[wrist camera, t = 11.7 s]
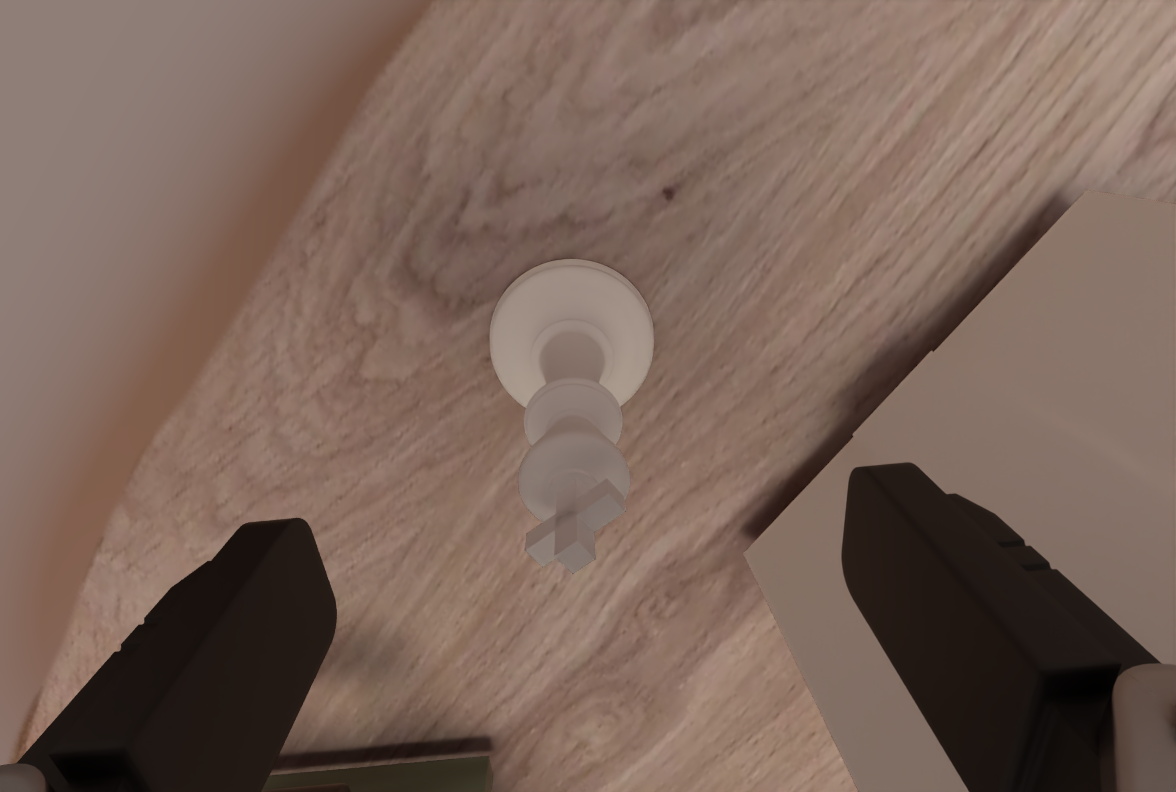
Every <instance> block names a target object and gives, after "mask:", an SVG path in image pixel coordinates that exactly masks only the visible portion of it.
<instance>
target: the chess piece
mask: <svg viewBox="0 0 1176 792" xmlns="http://www.w3.org/2000/svg"><path fill="white" fill-rule="evenodd" d="M489 341H490V354H491V359H492V363H493V367H494V369H495V372H496V374H497V376H498V378H499V380H500V382H501V384H502V385H503V387H504V388H505V389H506V391H507V392H508V393H509V394H510V395H511V396H512V397H513V398H514V399H515V400H516V401H517V402H518V403H519V404H521V405H522V406H524V407H525V408H526V410H525V414H524V430H525V434H526V437H527V439H528V441H529V443H530V445H531V448H530V449H529V451H528V452H527V454H526V455H525V457H524V459H523V461H522V463H521V466H520V469H519V473H518V489H519V493H520V496H521V499H522V501H523V503H524V504H525V506H526V507H527V509H528V510H529V511H530V512H531V513H532V514H533V515H534V516H535V517H536V518H537V519H539V520H540V521H542V522H543V523H542V524H540V525H539V526H537V527H536V528H534V529H533V530H532V531H530V532H529V533H527V535H526V544H525V551H526V552H527V553H528V554H529V555H530V556H531V557H532V558H533V559H534V560H535V561H536V562H537V563H538V564H539V565H540V566H541V567H544V566H546V565H547V564H549V563H550V562H552V561H553V560H555V559H556V558H557V559H558V560H559V561H560V562H561V563H562V564H563V565H564V566H565V567H566V568H567V569H568V570H569V571H570V572H571V573H572V574H574V573H575V572H577V571H578V570H580V569H581V568H583V567H584V566H586V565H587V564H589V563H590V562H592V561H594V560H595V559H596V555H595V539H594V533H595V532H596V531H598V530H599V529H601V528H602V527H604V526H605V525H607V524H608V523H610V522H611V521H613V520H614V519H616V518H617V517H619V516H620V515H622V514H623V513H625V512H626V509H625V503H624V502H625V500H626V498H627V495H628V492H629V488H630V473H629V468H628V465H627V462H626V460H625V458H624V456H623V455H622V453H621V452H620V450H619V449H618V448H617V447H616V444H617V442H618V440H619V438H620V435H621V432H622V427H623V416H622V411H621V408H620V406H622V405H623V404H624V403H626V402H627V401H628V400H629V399H630V398H631V397H632V396H633V395H634V394H635V393H636V392H637V390H638V389H639V388H640V386H641V385H642V383H643V381H644V380H645V378H646V376H647V374H648V371H649V369H650V366H651V362H652V358H653V351H654V328H653V322H652V318H651V315H650V312H649V309H648V307H647V305H646V303H645V301H644V299H643V297H642V296H641V294H640V293H639V292H638V290H637V289H636V288H635V287H634V286H633V284H632V283H631V282H630V281H628V280H627V279H626V278H625V277H624V276H622V275H621V274H620V273H618V272H616V271H615V270H613V269H611V268H609V267H607V266H605V265H602V264H600V263H596V262H593V261H588V260H582V259H561V260H555V261H550V262H547V263H544V264H541V265H538V266H536V267H534V268H532V269H530V270H528V271H527V272H525V273H524V274H522V275H521V276H520V277H518V278H517V279H516V280H515V281H514V282H513V283H512V284H511V285H510V286H509V287H508V288H507V289H506V291H505V292H504V293H503V295H502V296H501V298H500V300H499V301H498V303H497V305H496V308H495V310H494V313H493V316H492V320H491V324H490V333H489Z"/></svg>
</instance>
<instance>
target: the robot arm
mask: <svg viewBox="0 0 1176 792" xmlns="http://www.w3.org/2000/svg"><path fill="white" fill-rule="evenodd" d="M1024 541H1025V540H1024V539H1023V538H1022V537H1021V536H1019V535H1018V534H1017V533H1016V532H1015V531H1014V530H1013V529H1012V528H1011V527H1009V526H1008V525H1007V524H1006V523H1005V522H1004V521H1003V520H1002V519H1000V518H999V517H998V516H997V515H996V514H995V513H993V512H991V511H989V510H987V509H985V508H983V507H981V506H979V505H977V504H976V503H974V502H972V501H970V500H968V499H966V498H964V497H962V496H960V495H958V494H956V493H954V494H946V493H945V492H944V491H943V490H942V489H940V488H939V487H938V486H937V485H936V484H935V483H934V482H933V481H932V480H931V479H930V478H929V477H928V476H927V475H926V474H925V473H924V472H923V471H922V470H921V469H920V468H919V467H918V466H916V465H915V464H913V463H910V462H904V463H894V464H883V465H872V466H862V467H856V468H854V469H853V470H852V472H851V474H850V477H849V482H848V491H847V501H846V511H845V521H844V531H843V541H842V552H841V560H842V569H843V574H844V578H845V582H846V585H847V588H848V590H849V593H850V595H851V597H852V598H853V600H854V602H855V604H856V605H857V607H858V609H859V610H860V612H861V613H862V615H863V617H864V618H865V620H866V622H867V623H868V625H869V627H870V628H871V630H872V632H873V633H874V635H875V637H876V638H877V640H878V642H879V643H880V645H881V647H882V648H883V650H884V652H885V653H886V655H887V657H888V658H889V660H890V662H891V663H892V665H893V667H894V668H895V670H896V672H897V673H898V675H899V677H900V678H901V680H902V681H903V683H904V685H905V686H906V688H907V690H908V691H909V693H910V695H911V696H912V698H913V700H914V701H915V703H916V705H917V706H918V708H919V710H920V711H921V713H922V715H923V716H924V718H925V720H926V721H927V723H928V725H929V726H930V728H931V730H932V731H933V733H934V735H935V736H936V738H937V740H938V741H939V743H940V745H941V746H942V748H943V749H944V751H945V753H946V754H947V756H948V758H949V759H950V761H951V763H952V764H953V766H954V768H955V769H956V771H957V773H958V774H959V776H960V778H961V779H962V781H963V783H964V784H965V786H966V788H967V789H968V791H969V792H1176V665H1173V664H1162V663H1161V662H1160V661H1158V660H1157V659H1156V658H1155V657H1154V656H1153V655H1152V654H1151V653H1150V652H1148V651H1147V650H1146V649H1145V648H1144V647H1143V646H1142V645H1141V644H1140V643H1138V642H1137V641H1136V640H1135V639H1134V638H1133V637H1132V636H1131V635H1129V634H1128V633H1127V632H1126V631H1125V630H1124V629H1123V628H1122V627H1121V626H1119V625H1118V624H1117V623H1116V622H1115V621H1114V620H1113V619H1112V618H1111V617H1109V616H1108V615H1107V614H1106V613H1105V612H1104V611H1103V610H1102V609H1101V608H1099V607H1098V606H1097V605H1096V604H1095V603H1094V602H1093V601H1092V600H1091V599H1089V598H1088V597H1087V596H1086V595H1085V594H1084V593H1083V592H1082V591H1081V590H1079V589H1078V588H1077V587H1076V586H1075V585H1074V584H1073V583H1072V582H1071V581H1069V580H1068V579H1067V578H1066V577H1065V576H1064V575H1063V574H1062V573H1061V572H1059V571H1058V570H1057V569H1051V567H1050V563H1049V562H1048V561H1047V560H1046V559H1045V558H1044V557H1043V556H1042V555H1041V554H1039V553H1038V552H1037V551H1036V550H1035V549H1034V548H1033V547H1032V546H1026V545H1025V542H1024ZM336 621H337V609H336V601H335V597H334V594H333V591H332V588H331V585H330V582H329V580H328V577H327V574H326V571H325V568H324V565H323V562H322V559H321V556H320V553H319V551H318V548H317V545H316V542H315V539H314V536H313V533H312V531H311V528H310V526H309V525H308V523H307V522H306V521H305V520H303V519H301V518H291V519H281V520H270V521H259V522H249V523H246V524H244V525H242V526H241V527H240V528H239V529H238V530H237V531H236V532H235V533H234V535H233V536H232V537H231V538H230V539H229V540H228V542H227V543H226V544H225V545H224V546H223V548H222V549H221V550H220V551H219V552H218V553H217V555H216V556H215V557H214V558H213V559H212V561H207V562H206V563H204V564H203V565H202V566H200V567H199V568H198V569H196V570H195V571H194V572H192V573H191V574H189V575H188V576H187V577H185V578H184V579H183V580H181V581H180V582H178V583H177V584H176V585H174V586H173V587H172V588H170V590H169V591H168V592H167V593H166V594H165V595H164V596H163V598H162V599H161V600H160V601H159V602H158V603H157V604H156V605H155V607H154V608H153V609H152V610H151V611H150V612H149V613H148V615H147V616H146V617H145V618H144V624H142V625H138V626H137V627H136V628H135V629H134V630H133V632H132V633H131V634H130V635H129V636H128V637H127V638H126V640H125V641H124V642H123V643H122V644H121V650H120V651H119V652H114V653H113V654H112V655H111V657H110V658H109V659H108V660H107V661H106V662H105V663H104V665H103V666H102V667H101V668H100V669H99V670H98V671H97V672H96V674H95V675H94V676H93V677H92V678H91V679H90V680H89V682H88V683H87V684H86V685H85V686H84V687H83V688H82V689H81V691H80V692H79V693H78V694H77V695H76V696H75V697H74V699H73V700H72V701H71V702H70V703H69V704H68V705H67V707H66V708H65V709H64V710H63V711H62V712H61V713H60V714H59V716H58V717H57V718H56V719H55V720H54V721H53V722H52V724H51V725H50V726H49V727H48V728H47V729H46V730H45V731H44V733H43V734H42V735H41V736H40V737H39V738H38V739H37V741H36V742H35V743H34V744H33V745H32V746H31V747H30V749H29V750H28V751H27V752H26V753H25V754H24V755H23V756H22V758H21V759H20V760H19V761H18V762H17V763H15V764H7V765H1V766H0V792H261V791H262V789H263V787H264V785H265V783H266V781H267V779H268V777H269V774H270V772H271V770H272V768H273V766H274V764H275V762H276V760H277V757H278V755H279V753H280V751H281V749H282V747H283V745H284V743H285V740H286V738H287V736H288V734H289V732H290V730H291V728H292V726H293V724H294V721H295V719H296V717H297V715H298V713H299V711H300V709H301V707H302V704H303V702H304V700H305V698H306V696H307V694H308V692H309V690H310V687H311V685H312V683H313V681H314V679H315V677H316V675H317V673H318V670H319V668H320V666H321V664H322V662H323V660H324V658H325V656H326V654H327V651H328V649H329V647H330V645H331V643H332V640H333V637H334V633H335V629H336Z"/></svg>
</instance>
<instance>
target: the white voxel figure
mask: <svg viewBox="0 0 1176 792" xmlns="http://www.w3.org/2000/svg"><path fill="white" fill-rule="evenodd" d="M852 435H853V436H854V437H853V438H852V439H851V440H850V441H849V442H848V443H847V444H846V445H845V446H844V447H843V448H842V449H841V451H840V452H839V453H838V454H837V455H836V456H835V457H834V458H833V459H832V460H831V461H830V462H829V463H828V464H827V465H826V466H825V467H824V469H823V470H822V471H821V472H820V473H819V474H818V475H817V476H816V477H815V478H814V479H813V480H812V481H811V482H810V483H809V484H808V485H807V487H806V488H805V489H804V490H803V491H802V492H801V493H800V494H799V495H798V496H797V497H796V498H795V499H794V500H793V501H792V502H791V503H790V505H789V506H788V507H787V508H786V509H785V510H784V511H783V512H782V513H781V514H780V515H779V516H778V517H777V518H776V519H775V520H774V521H773V523H772V524H771V525H770V526H769V527H768V528H767V529H766V530H765V531H764V532H763V533H762V534H761V535H760V536H759V537H758V538H757V539H756V541H755V542H754V543H753V544H752V545H751V546H750V547H749V548H748V549H747V550H746V551H745V552H744V553H743V554H744V556H745V558H746V560H747V562H748V565H749V567H750V569H751V571H752V573H753V575H754V577H755V579H756V581H757V583H758V585H759V587H760V589H761V591H762V593H763V595H764V598H765V600H766V602H767V604H768V606H769V608H770V610H771V612H772V614H773V616H774V618H775V620H776V622H777V624H778V626H779V629H780V631H781V633H782V635H783V637H784V639H785V641H786V643H787V645H788V647H789V649H790V651H791V653H792V655H793V657H794V659H795V662H796V664H797V666H798V668H799V670H800V672H801V674H802V676H803V678H804V680H805V682H806V684H807V686H808V688H809V690H810V693H811V695H812V697H813V699H814V701H815V703H816V705H817V707H818V709H819V711H820V713H821V715H822V717H823V719H824V721H825V724H826V726H827V728H828V730H829V732H830V734H831V736H832V738H833V740H834V742H835V744H836V746H837V748H838V750H839V752H840V754H841V757H842V759H843V761H844V763H845V765H846V767H847V769H848V771H849V773H850V775H851V777H852V779H853V781H854V783H855V785H856V788H857V790H858V792H969V791H968V789H967V788H966V786H965V784H964V783H963V781H962V779H961V778H960V776H959V774H958V773H957V771H956V769H955V768H954V766H953V764H952V763H951V761H950V759H949V758H948V756H947V754H946V753H945V751H944V749H943V748H942V746H941V745H940V743H939V741H938V740H937V738H936V736H935V735H934V733H933V731H932V730H931V728H930V726H929V725H928V723H927V721H926V720H925V718H924V716H923V715H922V713H921V711H920V710H919V708H918V706H917V705H916V703H915V701H914V700H913V698H912V696H911V695H910V693H909V691H908V690H907V688H906V686H905V685H904V683H903V681H902V680H901V678H900V677H899V675H898V673H897V672H896V670H895V668H894V667H893V665H892V663H891V662H890V660H889V658H888V657H887V655H886V653H885V652H884V650H883V648H882V647H881V645H880V643H879V642H878V640H877V638H876V637H875V635H874V633H873V632H872V630H871V628H870V627H869V625H868V623H867V622H866V620H865V618H864V617H863V615H862V613H861V612H860V610H859V609H858V607H857V605H856V604H855V602H854V600H853V598H852V597H851V595H850V593H849V590H848V588H847V585H846V582H845V578H844V574H843V569H842V560H841V552H842V541H843V531H844V521H845V511H846V501H847V491H848V482H849V477H850V474H851V472H852V470H853V469H854V468H856V467H862V466H872V465H883V464H894V463H904V462H910V463H913V464H915V465H916V466H918V467H919V468H920V469H921V470H922V471H923V472H924V473H925V474H926V475H927V476H928V477H929V478H930V479H931V480H932V481H933V482H934V483H935V484H936V485H937V486H938V487H939V488H940V489H942V490H943V491H944V492H945V493H946V494H954V493H956V494H958V495H960V496H962V497H964V498H966V499H968V500H970V501H972V502H974V503H976V504H977V505H979V506H981V507H983V508H985V509H987V510H989V511H991V512H993V513H995V514H996V515H997V516H998V517H999V518H1000V519H1002V520H1003V521H1004V522H1005V523H1006V524H1007V525H1008V526H1009V527H1011V528H1012V529H1013V530H1014V531H1015V532H1016V533H1017V534H1018V535H1019V536H1021V537H1022V538H1023V539H1024V540H1025V541H1024V542H1025V545H1026V546H1032V547H1033V548H1034V549H1035V550H1036V551H1037V552H1038V553H1039V554H1041V555H1042V556H1043V557H1044V558H1045V559H1046V560H1047V561H1048V562H1049V563H1050V567H1051V569H1057V570H1058V571H1059V572H1061V573H1062V574H1063V575H1064V576H1065V577H1066V578H1067V579H1068V580H1069V581H1071V582H1072V583H1073V584H1074V585H1075V586H1076V587H1077V588H1078V589H1079V590H1081V591H1082V592H1083V593H1084V594H1085V595H1086V596H1087V597H1088V598H1089V599H1091V600H1092V601H1093V602H1094V603H1095V604H1096V605H1097V606H1098V607H1099V608H1101V609H1102V610H1103V611H1104V612H1105V613H1106V614H1107V615H1108V616H1109V617H1111V618H1112V619H1113V620H1114V621H1115V622H1116V623H1117V624H1118V625H1119V626H1121V627H1122V628H1123V629H1124V630H1125V631H1126V632H1127V633H1128V634H1129V635H1131V636H1132V637H1133V638H1134V639H1135V640H1136V641H1137V642H1138V643H1140V644H1141V645H1142V646H1143V647H1144V648H1145V649H1146V650H1147V651H1148V652H1150V653H1151V654H1152V655H1153V656H1154V657H1155V658H1156V659H1157V660H1158V661H1160V662H1161V663H1162V664H1173V665H1176V204H1174V203H1167V202H1161V201H1154V200H1148V199H1142V198H1135V197H1129V196H1123V195H1116V194H1110V193H1103V192H1097V191H1091V190H1086V191H1085V192H1084V193H1083V194H1082V195H1081V196H1080V197H1079V198H1078V200H1077V201H1076V202H1075V203H1074V204H1073V205H1072V206H1071V207H1070V208H1069V209H1068V210H1067V211H1066V212H1065V213H1064V214H1063V215H1062V216H1061V218H1060V219H1059V220H1058V221H1057V222H1056V223H1055V224H1054V225H1053V226H1052V227H1051V228H1050V229H1049V230H1048V231H1047V232H1046V233H1045V234H1044V236H1043V237H1042V238H1041V239H1040V240H1039V241H1038V242H1037V243H1036V244H1035V245H1034V246H1033V247H1032V248H1031V249H1030V250H1029V251H1028V252H1027V254H1026V255H1025V256H1024V257H1023V258H1022V259H1021V260H1020V261H1019V262H1018V263H1017V264H1016V265H1015V266H1014V267H1013V268H1012V269H1011V270H1010V272H1009V273H1008V274H1007V275H1006V276H1005V277H1004V278H1003V279H1002V280H1001V281H1000V282H999V283H998V284H997V285H996V286H995V287H994V288H993V290H992V291H991V292H990V293H989V294H988V295H987V296H986V297H985V298H984V299H983V300H982V301H981V302H980V303H979V304H978V305H977V306H976V308H975V309H974V310H973V311H972V312H971V313H970V314H969V315H968V316H967V317H966V318H965V319H964V320H963V321H962V322H961V323H960V324H959V326H958V327H957V328H956V329H955V330H954V331H953V332H952V333H951V334H950V335H949V336H948V337H947V338H946V339H945V340H944V341H943V342H942V344H941V345H940V346H939V347H938V348H937V349H936V350H935V351H934V352H933V351H930V352H929V353H928V354H927V355H926V357H925V358H924V359H923V360H922V361H921V362H920V363H919V364H918V365H917V366H916V367H915V368H914V369H913V370H912V371H911V372H910V374H909V375H908V376H907V377H906V378H905V379H904V380H903V381H902V382H901V383H900V384H899V385H898V386H897V387H896V388H895V389H894V391H893V392H892V393H891V394H890V395H889V396H888V397H887V398H886V399H885V400H884V401H883V402H882V403H881V404H880V405H879V406H878V408H877V409H876V410H875V411H874V412H873V413H872V414H871V415H870V416H869V417H868V418H867V419H866V420H865V421H864V422H863V423H862V425H861V426H860V427H859V428H858V429H857V430H856V431H855V432H854V433H853V434H852Z"/></svg>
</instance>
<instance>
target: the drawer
mask: <svg viewBox="0 0 1176 792" xmlns="http://www.w3.org/2000/svg"><path fill="white" fill-rule="evenodd" d="M492 781H493V772H492V768H491V764H490V759H489V756H481V757H470V758H459V759H448V760H437V761H426V762H415V763H404V764H393V765H382V766H371V767H360V768H349V769H338V770H327V771H316V772H305V773H294V774H283V775H272V776H269V777H268V779H267V781H266V783H265V785H264V787H263V789H262V791H261V792H491V790H492Z"/></svg>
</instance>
